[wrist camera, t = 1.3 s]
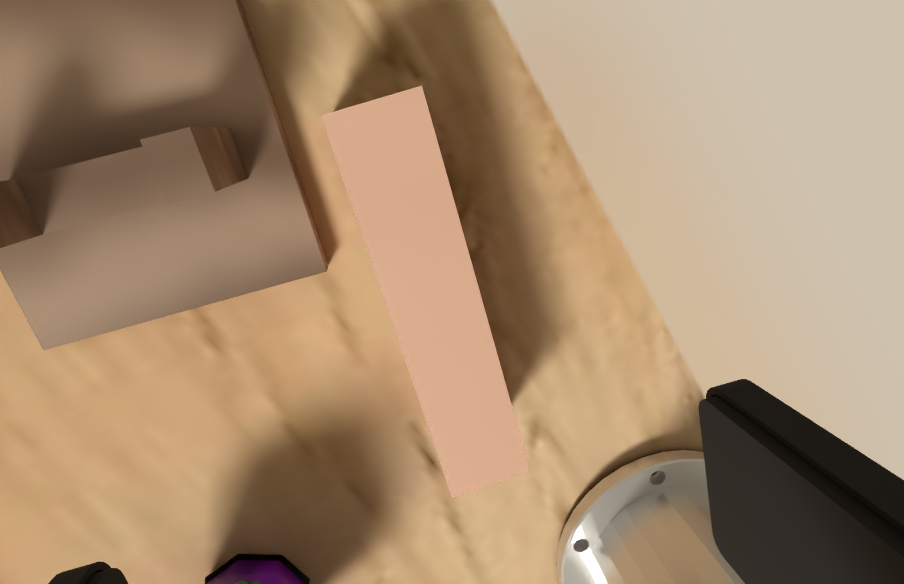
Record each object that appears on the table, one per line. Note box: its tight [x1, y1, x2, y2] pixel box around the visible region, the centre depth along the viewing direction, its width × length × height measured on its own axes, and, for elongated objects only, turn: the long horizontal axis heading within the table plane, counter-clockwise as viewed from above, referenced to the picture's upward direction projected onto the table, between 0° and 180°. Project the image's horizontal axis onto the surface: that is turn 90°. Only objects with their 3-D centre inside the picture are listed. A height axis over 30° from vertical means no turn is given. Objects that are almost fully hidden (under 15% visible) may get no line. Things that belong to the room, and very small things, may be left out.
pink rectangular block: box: [321, 86, 530, 498], centre depth 23 cm, size 16×4×5 cm, turn 16°
